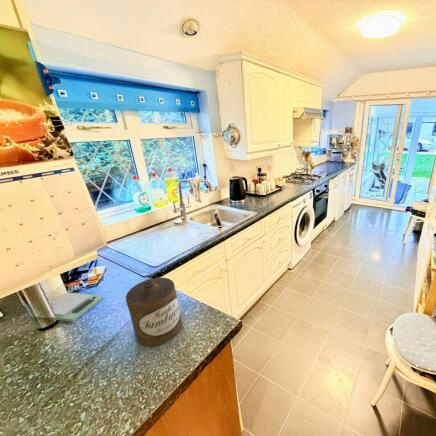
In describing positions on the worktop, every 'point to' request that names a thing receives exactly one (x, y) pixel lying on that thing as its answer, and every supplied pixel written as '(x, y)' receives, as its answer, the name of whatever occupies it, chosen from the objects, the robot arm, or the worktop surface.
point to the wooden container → (154, 311)
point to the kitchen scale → (73, 305)
